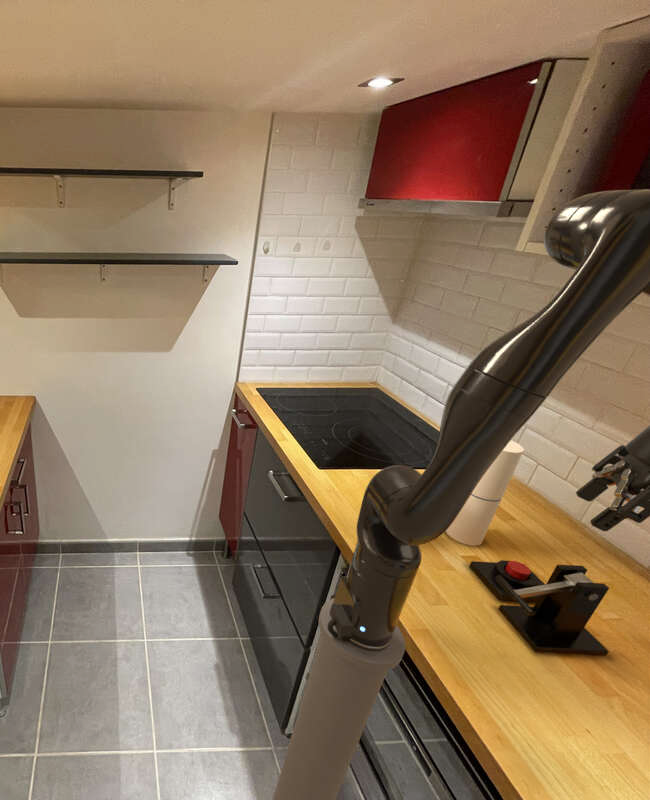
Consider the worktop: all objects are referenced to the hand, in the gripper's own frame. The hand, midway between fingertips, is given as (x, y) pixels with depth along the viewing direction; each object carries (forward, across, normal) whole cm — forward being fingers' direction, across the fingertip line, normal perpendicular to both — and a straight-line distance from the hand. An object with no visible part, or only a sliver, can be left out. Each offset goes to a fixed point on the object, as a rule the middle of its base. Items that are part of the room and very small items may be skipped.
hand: (589, 511), depth 74 cm
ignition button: (+22, -8, +5) cm, 24 cm away
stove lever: (+16, +4, +4) cm, 17 cm away
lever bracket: (+23, +2, +10) cm, 26 cm away
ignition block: (+25, -8, +6) cm, 27 cm away
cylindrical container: (+28, -21, 0) cm, 35 cm away
